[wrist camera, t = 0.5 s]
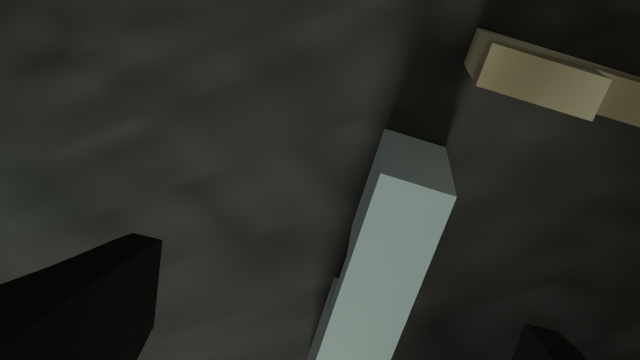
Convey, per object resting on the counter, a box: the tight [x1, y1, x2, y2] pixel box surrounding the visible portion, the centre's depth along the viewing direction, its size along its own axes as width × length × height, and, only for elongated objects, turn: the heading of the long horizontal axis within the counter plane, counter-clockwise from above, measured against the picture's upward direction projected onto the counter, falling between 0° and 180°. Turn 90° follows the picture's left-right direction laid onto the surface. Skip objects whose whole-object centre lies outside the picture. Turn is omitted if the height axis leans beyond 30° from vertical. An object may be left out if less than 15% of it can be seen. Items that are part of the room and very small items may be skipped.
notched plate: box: [307, 129, 457, 360], centre depth 21 cm, size 10×2×4 cm, turn 164°
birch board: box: [464, 27, 640, 127], centre depth 18 cm, size 10×1×4 cm, turn 74°
